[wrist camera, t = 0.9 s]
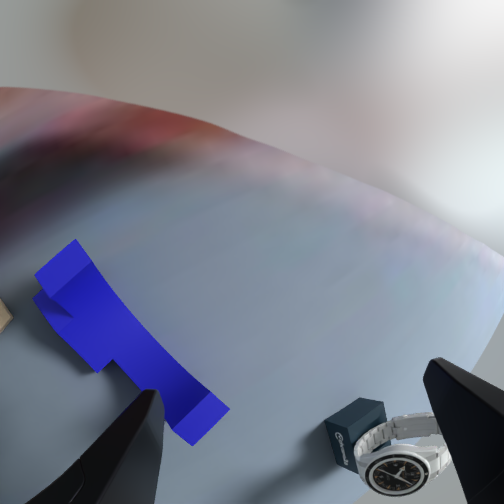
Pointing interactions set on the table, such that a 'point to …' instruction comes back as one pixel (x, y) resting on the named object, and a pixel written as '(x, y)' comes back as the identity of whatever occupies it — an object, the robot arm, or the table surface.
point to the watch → (386, 447)
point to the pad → (4, 316)
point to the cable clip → (120, 340)
